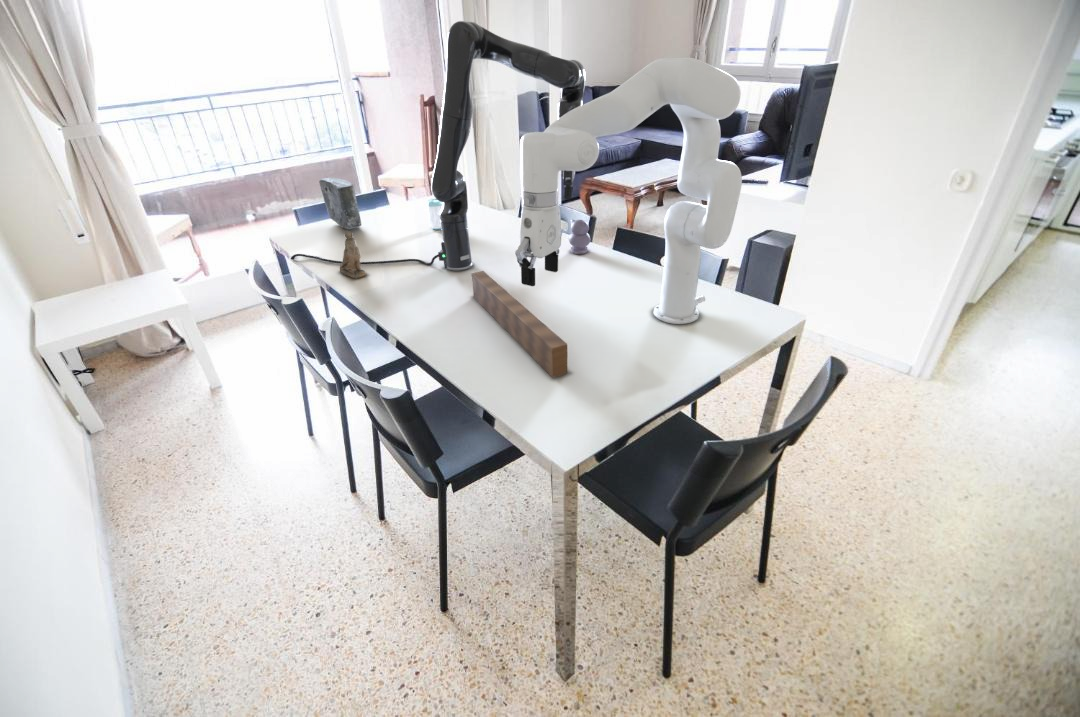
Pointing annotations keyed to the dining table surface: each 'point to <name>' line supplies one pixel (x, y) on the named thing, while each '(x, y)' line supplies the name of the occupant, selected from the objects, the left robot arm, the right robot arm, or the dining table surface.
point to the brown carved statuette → (351, 258)
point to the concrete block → (341, 202)
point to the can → (434, 213)
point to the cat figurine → (579, 236)
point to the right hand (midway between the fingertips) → (540, 277)
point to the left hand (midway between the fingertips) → (568, 195)
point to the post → (521, 324)
